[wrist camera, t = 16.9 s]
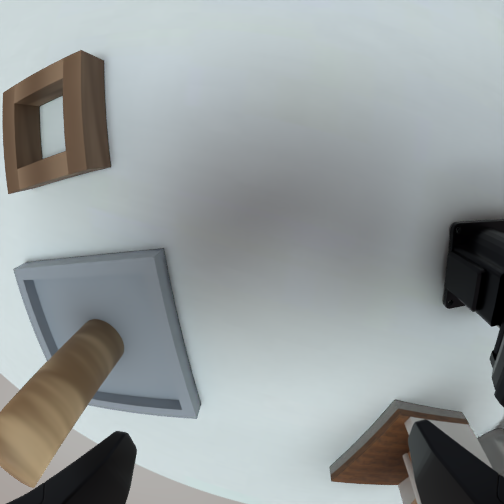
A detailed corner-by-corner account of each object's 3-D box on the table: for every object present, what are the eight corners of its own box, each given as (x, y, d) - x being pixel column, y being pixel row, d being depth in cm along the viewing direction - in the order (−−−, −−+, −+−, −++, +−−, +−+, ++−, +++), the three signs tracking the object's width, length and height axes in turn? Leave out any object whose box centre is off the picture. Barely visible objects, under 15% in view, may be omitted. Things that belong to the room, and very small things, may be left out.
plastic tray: (163, 248, 20) (153, 256, 18) (201, 404, 24) (196, 418, 22) (26, 262, 21) (13, 269, 19) (75, 390, 25) (67, 400, 23)
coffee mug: (473, 470, 27) (491, 514, 18) (434, 474, 27) (453, 527, 17) (529, 409, 23) (559, 452, 14) (499, 408, 23) (533, 462, 13)
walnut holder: (103, 60, 16) (81, 50, 13) (110, 167, 18) (86, 169, 16) (27, 96, 17) (3, 92, 14) (33, 188, 19) (8, 194, 16)
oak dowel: (115, 319, 21) (5, 451, 8) (130, 361, 22) (47, 496, 9) (77, 318, 22) (-32, 427, 8) (92, 358, 23) (5, 472, 9)
